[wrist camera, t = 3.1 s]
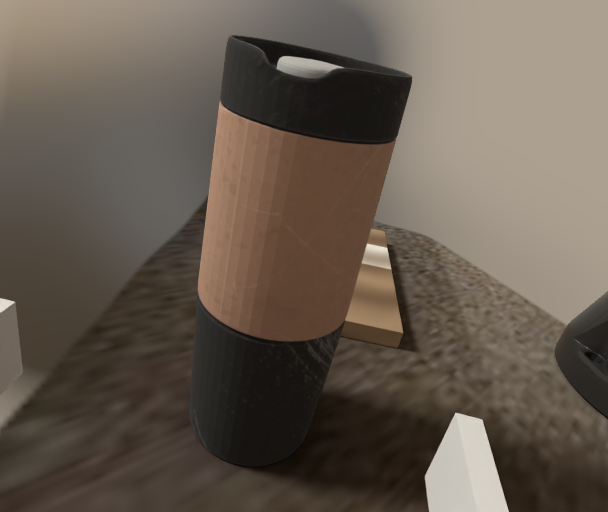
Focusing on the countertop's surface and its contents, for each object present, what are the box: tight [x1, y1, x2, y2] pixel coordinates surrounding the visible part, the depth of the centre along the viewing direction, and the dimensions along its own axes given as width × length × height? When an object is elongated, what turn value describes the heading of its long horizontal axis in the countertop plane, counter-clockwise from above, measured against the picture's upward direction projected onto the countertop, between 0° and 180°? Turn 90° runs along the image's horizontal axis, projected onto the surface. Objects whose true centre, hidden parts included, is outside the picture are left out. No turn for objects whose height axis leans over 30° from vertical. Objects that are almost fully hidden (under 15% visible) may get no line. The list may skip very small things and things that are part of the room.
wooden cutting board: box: [340, 229, 403, 348], centre depth 44 cm, size 20×12×2 cm, turn 175°
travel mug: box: [190, 35, 412, 466], centre depth 23 cm, size 8×8×20 cm
